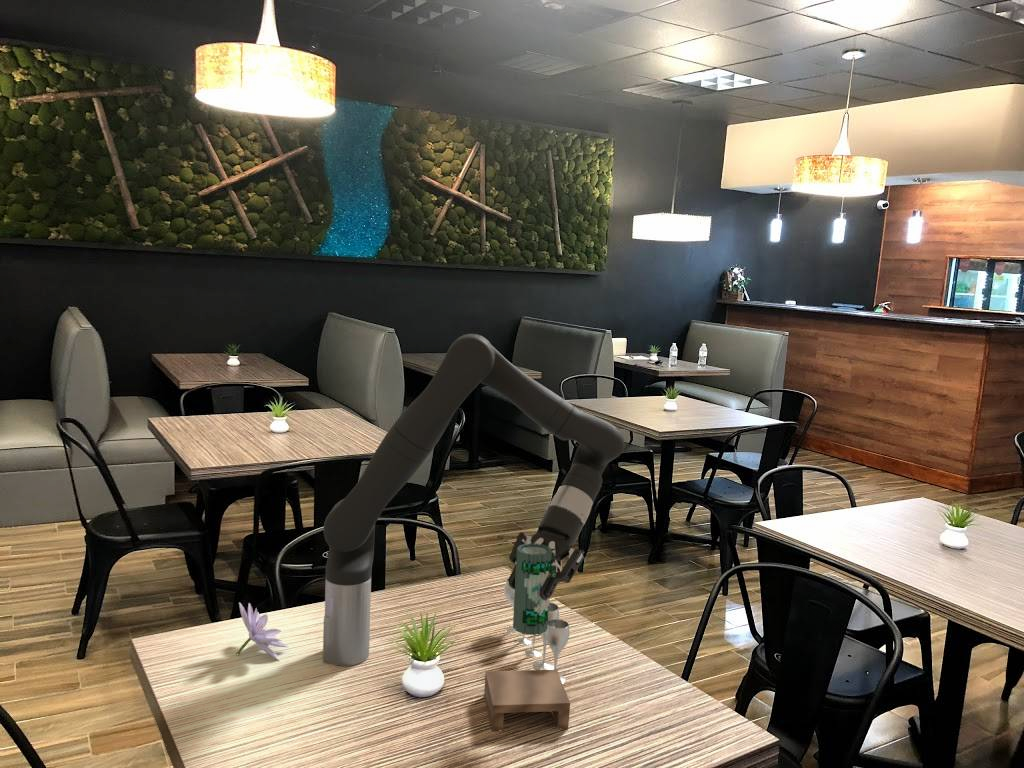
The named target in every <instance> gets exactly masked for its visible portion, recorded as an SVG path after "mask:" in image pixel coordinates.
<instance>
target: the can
mask: <svg viewBox="0 0 1024 768" xmlns="http://www.w3.org/2000/svg"><path fill="white" fill-rule="evenodd" d="M551 562H552V549H551V548H550V547H548V546H545V545H542V544H540V545H539V544H537V543H536V544H534V543H533V544H531V543H529V544H523V545H520V546H518V548H517V558H516V577H515V596H514V609H513V616H512V617H513V619H512V625H513V628H514V629H515V631H517V632H519V633H522V634H521V635H523V634H525V635H527V636H533V635H535V636H536V635H539V636H541V635H540V634H542V633H544V632H546V630H547V629H548V613H549V602H550V598H548V599H547V600H543V599H542V598H541V597H540V595H539V593H540V591H541V589H542V587H543V585H544V583H545V581H546V579H547V577H550V567H551Z"/></svg>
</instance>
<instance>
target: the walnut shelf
mask: <svg viewBox="0 0 1024 768" xmlns="http://www.w3.org/2000/svg"><path fill="white" fill-rule="evenodd" d="M559 675H560V674H559V672H558V669H556V670H554V669H553V670H536V669H531V670H530V669H528V670H527V669H525V670H524V669H523V670H522V669H521V670H487V671H485V674H484V692H483V693H484V694H483V697H484V701H485V705H486V710H487V716H488V721H489V725H491V726H490V730H491V732H500V731H499V730H503V731H504V715H505V714H511V713H535V712H536V713H539V712H541V713H542V712H551V711H552V712H551V714H552V716H553V721H554V723H555V725H557V726H556V729H557V728H558V729H557V730H566V729H565V728H568V729H569V726H570V724H569V723H570V710H571V702H570V699H569V696H568V694H567V692H566V689H565V686H564V683H563V684H562V681H561V679H560V676H559ZM560 728H562V729H560Z"/></svg>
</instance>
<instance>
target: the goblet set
mask: <svg viewBox="0 0 1024 768" xmlns="http://www.w3.org/2000/svg"><path fill="white" fill-rule="evenodd" d="M508 579H509V577H507V579H506V580H505V583H504V586H503V595H504V597H505V599H506V600H507V601H508V602H509V603H510V604H511V606H512V609H513V610H514V596H515V589H512V588H511V587H510V586H509V582H508ZM508 626H509V627H507V628H506V630H507V633H506V634H509V633H511V632H512V633H518V632H517V631H515V629H514V628H513V626H510V625H508ZM525 635H526V634H522V636H521V637H522V638H518V637H517V638H518V639H517V641H516V642H519V643H520V644H524V645H523V646H528V644H529V645H531V644H532V648H527V649H525V650H524V651H525V653H526V654H524V655H525V656H526V657H529V656H530V657H529V658H539V656H540V657H541V656H542V659H539V660H536V661H534V662H532V663H531V664H532V665H533V666H532V667H533V669H534V670H557V665H558V658H559V655H560V654H561V652H562V651H563V650H564V648H565V647H566V646H567V645H568V644H567V643H568V642H569V639H570V624H569V622H567V621H566V620H563V619H560V609H559V605H558V604H556V603H553V602H550V601H549V613H548V629H547V630H546V632H544V633H542V634H540V635H539V636H540V637H541V639H542V643H543V644H542V645H543V652H542V650H540V649H536V648H535V642H536V635H532V639H531V638H529V637H527V638H526V637H525ZM528 638H529V639H528ZM530 639H531V640H530ZM516 642H515V643H516ZM525 644H526V645H525ZM547 645H548V647H549V648H550V650H551V652H552V654H553V659H554V660H553V661H554V663H553V662H552V661H549V660H546V652H547V651H546V650H547ZM559 676H560V679H561V681H562V684H563V685H564V683H566V677H565V676H564V675H562V674H559Z"/></svg>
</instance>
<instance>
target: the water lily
mask: <svg viewBox="0 0 1024 768" xmlns="http://www.w3.org/2000/svg"><path fill="white" fill-rule="evenodd" d="M238 606H239V611H240V615H241V618H242V622H243V624H244V626H245V628H246V629H247V631H248V639H247V640H245V641H244V643H243V644H242V645H241V646H240V648H239V649H238V650H237V651H236V653H235V655H236V654H239V655H240V654H241V652H242V651H243V650H244V649H245V647H246V646H247V645H248V644H249V642H250V641H252V642H254V643H255V644H256V645H257V646H258V647H259V648H260V649H261V650H262V651H263V652H265V653H266V654H267V655H269V656H270V657H272V658H274V659H275V660H277V661H279V660H278V659H277V658H278V657H279V656H278V654H277V653H276V652H275V651H274V650H273V649H271V648H270V647H268V646H267V645H269V646H273V647H277V648H289V646H288V645H287V644H285V643H283V640H282V639H278V638H276V635H278V634H280V633H282V630H281V629H278V628H269V629H266V626H267V623H268V620H269V617H268V614H267V613H265V614H263V615H260V613H259V611H258V609H257V607H256V608H255V610H254V611H253V606H252V604H251V603H250V602H248V606H247V610H246V609H245V607H244V606H243V604H242V603H241V602H238ZM276 657H277V658H276Z"/></svg>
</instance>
